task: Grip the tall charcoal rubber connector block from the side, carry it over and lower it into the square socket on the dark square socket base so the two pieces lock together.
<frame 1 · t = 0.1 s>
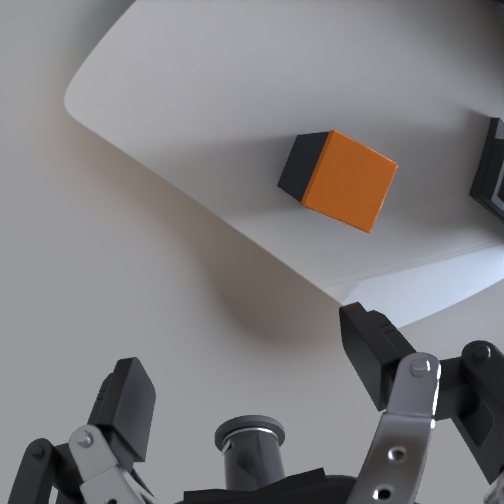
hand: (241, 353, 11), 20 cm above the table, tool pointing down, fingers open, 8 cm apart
connector: (312, 170, 29), on the table
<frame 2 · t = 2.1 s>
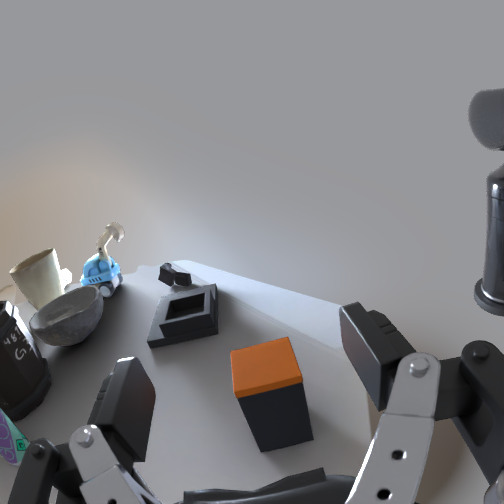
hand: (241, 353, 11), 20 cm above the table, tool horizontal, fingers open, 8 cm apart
bowl: (78, 336, 57), on the table
plant pot: (55, 312, 71), on the table
stone: (56, 288, 91), on the table
dark square socket base: (186, 316, 56), on the table
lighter: (177, 285, 70), on the table
spray can: (20, 453, 26), on the table
connector: (282, 427, 29), on the table
toy excavator: (114, 291, 76), on the table
barrel: (19, 395, 39), on the table
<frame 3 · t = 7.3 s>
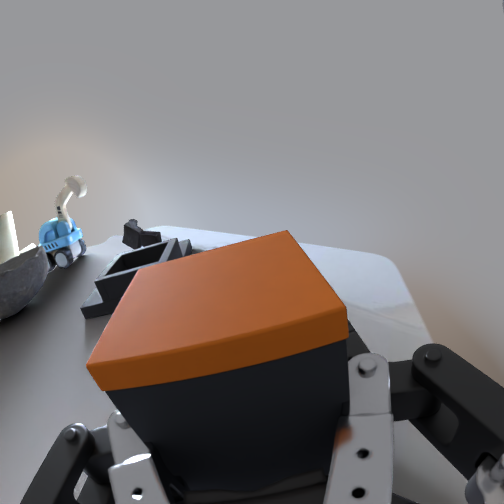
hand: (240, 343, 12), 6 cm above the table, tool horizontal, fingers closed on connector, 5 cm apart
bowl: (19, 309, 40), on the table
plant pot: (10, 288, 54), on the table
stone: (22, 266, 74), on the table
dark square socket base: (144, 279, 39), on the table
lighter: (145, 249, 53), on the table
connector: (277, 468, 12), on the table, touching gripper
toy excavator: (75, 262, 59), on the table
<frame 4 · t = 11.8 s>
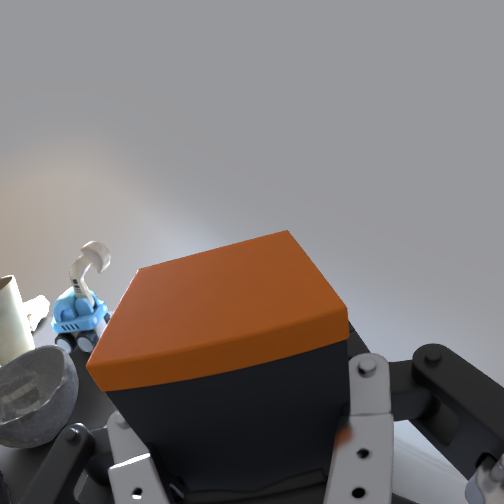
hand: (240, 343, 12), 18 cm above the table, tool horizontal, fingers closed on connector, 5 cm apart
bowl: (47, 423, 30), on the table
plant pot: (23, 365, 45), on the table
stone: (30, 320, 64), on the table
connector: (277, 469, 12), point 12 cm above the table, touching gripper
toy excavator: (100, 341, 49), on the table
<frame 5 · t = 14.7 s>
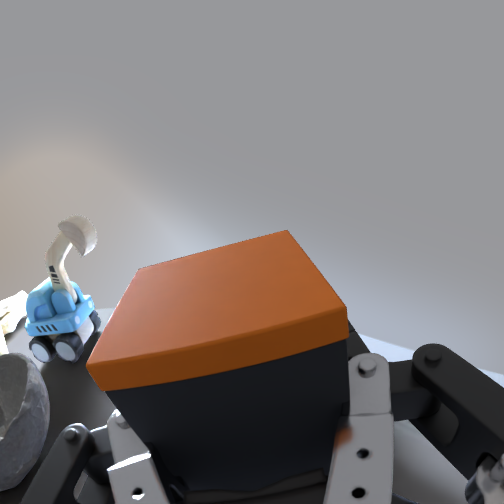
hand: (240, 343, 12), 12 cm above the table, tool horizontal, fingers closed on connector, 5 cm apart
bowl: (16, 456, 18), on the table
stone: (11, 320, 53), on the table
connector: (277, 468, 12), point 6 cm above the table, touching gripper
toy excavator: (86, 346, 37), on the table
when the fingers open (8 cm above the table, at t = 16.6 s): connector stays where it is, resting on dark square socket base.
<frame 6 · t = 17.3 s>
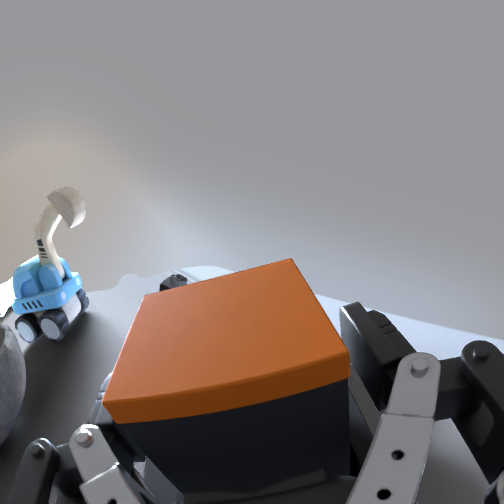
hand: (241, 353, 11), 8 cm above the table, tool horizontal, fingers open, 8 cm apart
stone: (2, 307, 51), on the table
dark square socket base: (250, 446, 16), on the table
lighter: (201, 325, 30), on the table
connector: (279, 480, 12), point 1 cm above the table, touching dark square socket base
toy excavator: (73, 326, 36), on the table
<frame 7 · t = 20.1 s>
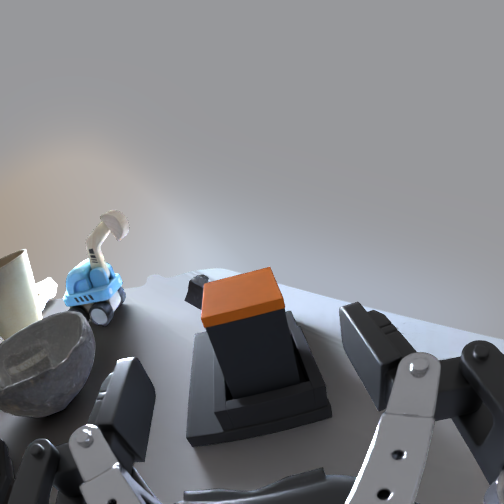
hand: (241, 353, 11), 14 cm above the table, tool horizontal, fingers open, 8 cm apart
bowl: (58, 394, 31), on the table
plant pot: (30, 342, 45), on the table
stone: (37, 303, 65), on the table
dark square socket base: (251, 375, 30), on the table
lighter: (216, 310, 44), on the table
connector: (267, 385, 26), point 1 cm above the table, touching dark square socket base
toy excavator: (114, 315, 50), on the table
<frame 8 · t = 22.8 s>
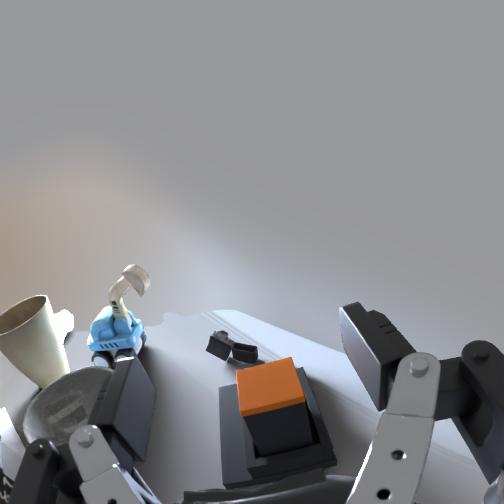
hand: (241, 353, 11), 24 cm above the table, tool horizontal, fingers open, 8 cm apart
bowl: (96, 439, 34), on the table
plant pot: (56, 381, 49), on the table
stone: (54, 334, 69), on the table
dark square socket base: (271, 427, 33), on the table
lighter: (235, 358, 48), on the table
connector: (285, 440, 29), point 1 cm above the table, touching dark square socket base
toy excavator: (136, 356, 53), on the table
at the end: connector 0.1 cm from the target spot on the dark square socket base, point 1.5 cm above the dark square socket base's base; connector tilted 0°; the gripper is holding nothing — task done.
